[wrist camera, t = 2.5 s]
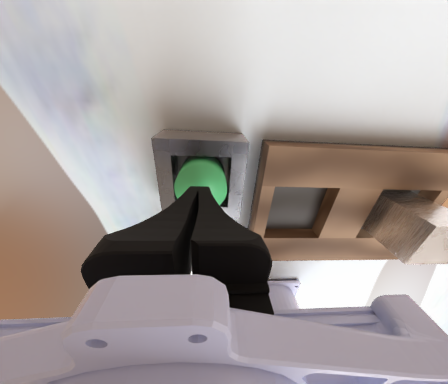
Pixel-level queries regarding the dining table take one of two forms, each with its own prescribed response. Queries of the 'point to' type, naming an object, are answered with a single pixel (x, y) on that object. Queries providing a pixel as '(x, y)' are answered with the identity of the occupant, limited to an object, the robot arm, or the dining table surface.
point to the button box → (201, 146)
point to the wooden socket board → (335, 195)
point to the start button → (202, 176)
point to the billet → (410, 227)
